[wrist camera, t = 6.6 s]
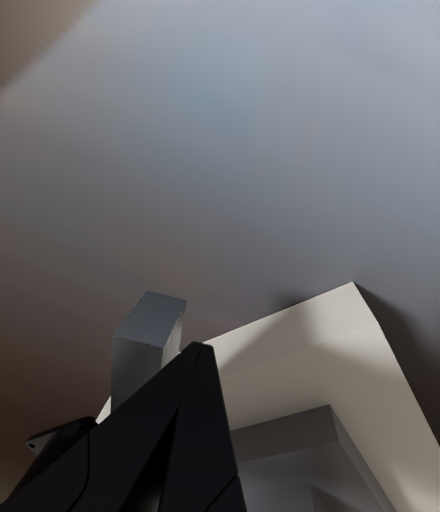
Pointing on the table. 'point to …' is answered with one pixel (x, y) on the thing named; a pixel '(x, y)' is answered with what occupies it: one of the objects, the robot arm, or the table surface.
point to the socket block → (333, 388)
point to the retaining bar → (145, 343)
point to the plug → (305, 466)
